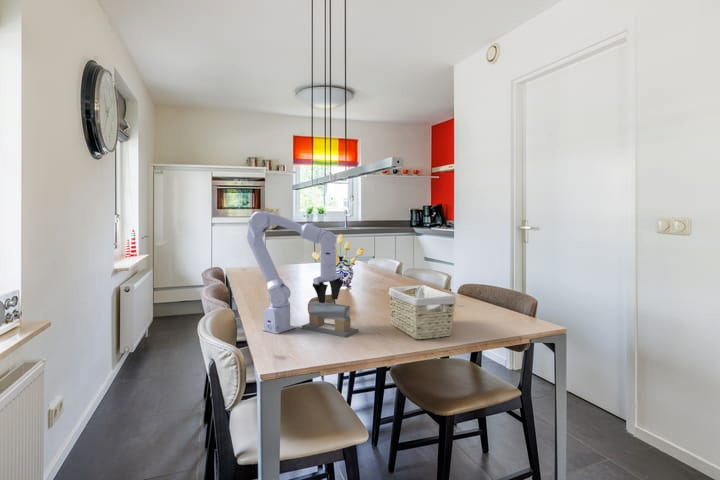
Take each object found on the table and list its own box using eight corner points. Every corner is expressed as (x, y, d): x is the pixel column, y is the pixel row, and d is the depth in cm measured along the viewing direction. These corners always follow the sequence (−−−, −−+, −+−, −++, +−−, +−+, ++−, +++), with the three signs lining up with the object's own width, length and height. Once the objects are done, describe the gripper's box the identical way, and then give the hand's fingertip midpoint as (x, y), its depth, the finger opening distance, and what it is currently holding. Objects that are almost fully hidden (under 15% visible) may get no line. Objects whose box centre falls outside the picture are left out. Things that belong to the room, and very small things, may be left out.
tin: (311, 319, 160) (311, 299, 159) (306, 318, 162) (306, 298, 161) (336, 312, 172) (336, 293, 171) (330, 311, 174) (330, 292, 173)
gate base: (345, 337, 136) (345, 323, 136) (301, 328, 148) (301, 314, 147) (358, 331, 143) (358, 318, 143) (315, 323, 154) (315, 310, 154)
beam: (344, 320, 139) (344, 308, 139) (309, 314, 148) (309, 302, 148) (349, 318, 142) (349, 306, 142) (315, 312, 151) (315, 300, 151)
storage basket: (386, 323, 154) (387, 286, 153) (424, 320, 159) (424, 284, 158) (414, 342, 131) (415, 298, 131) (457, 337, 137) (457, 295, 136)
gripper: (324, 267, 138) (324, 305, 138) (348, 263, 149) (348, 298, 150) (308, 265, 142) (309, 303, 142) (334, 261, 153) (334, 296, 154)
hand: (328, 300), depth 147 cm, fingers open, 7 cm apart
